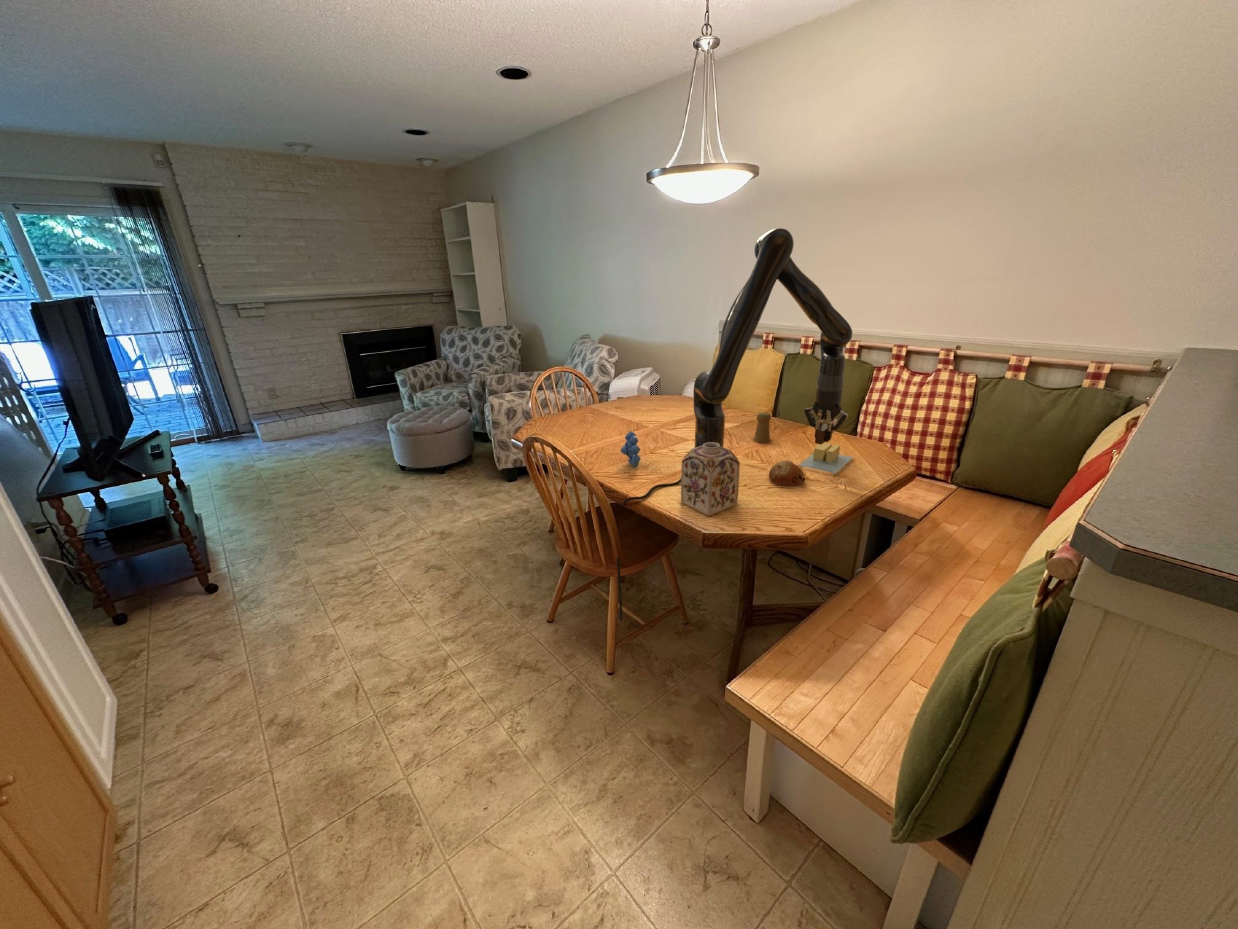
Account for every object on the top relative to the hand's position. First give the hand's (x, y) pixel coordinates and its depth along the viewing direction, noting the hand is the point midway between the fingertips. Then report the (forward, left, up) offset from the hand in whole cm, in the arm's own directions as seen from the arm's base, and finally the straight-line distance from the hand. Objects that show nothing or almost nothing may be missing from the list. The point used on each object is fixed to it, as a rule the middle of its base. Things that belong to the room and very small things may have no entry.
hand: (822, 440), depth 155 cm
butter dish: (+5, 0, -10) cm, 11 cm away
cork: (+16, +28, -10) cm, 34 cm away
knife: (+4, 0, 0) cm, 5 cm away
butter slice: (+8, -1, -9) cm, 12 cm away
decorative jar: (-45, +16, -10) cm, 48 cm away
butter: (+8, +2, -9) cm, 12 cm away
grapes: (-35, +53, -10) cm, 64 cm away
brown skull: (-16, +5, -10) cm, 19 cm away
